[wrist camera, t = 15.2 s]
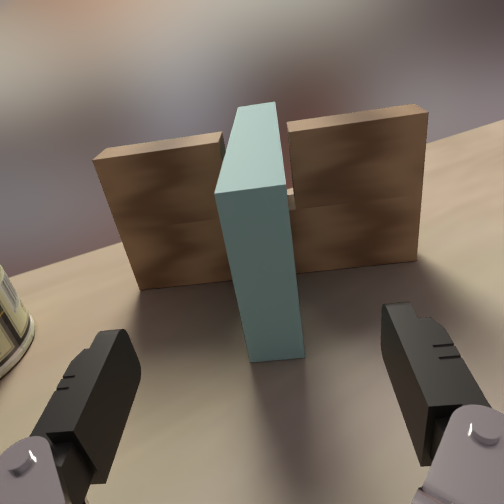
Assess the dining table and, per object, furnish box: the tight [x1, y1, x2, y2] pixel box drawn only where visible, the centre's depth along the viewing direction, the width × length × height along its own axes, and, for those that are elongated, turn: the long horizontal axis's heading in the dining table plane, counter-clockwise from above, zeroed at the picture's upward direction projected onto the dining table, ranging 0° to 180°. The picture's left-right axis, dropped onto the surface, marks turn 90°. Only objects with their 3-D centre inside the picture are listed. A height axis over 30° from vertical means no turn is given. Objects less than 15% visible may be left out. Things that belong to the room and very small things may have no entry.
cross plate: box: [214, 102, 305, 362], centre depth 26 cm, size 3×18×10 cm, turn 178°
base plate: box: [92, 104, 428, 290], centre depth 27 cm, size 20×2×10 cm, turn 88°
